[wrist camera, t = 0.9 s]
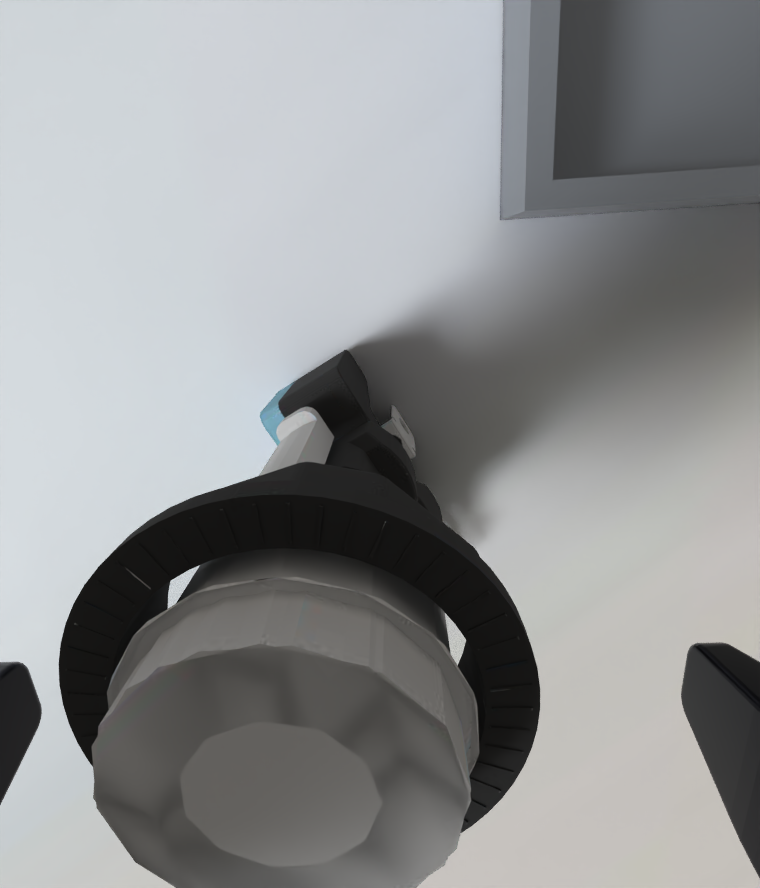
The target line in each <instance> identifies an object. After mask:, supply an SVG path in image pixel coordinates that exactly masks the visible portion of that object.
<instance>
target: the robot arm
mask: <svg viewBox="0 0 760 888" xmlns="http://www.w3.org/2000/svg"><path fill="white" fill-rule="evenodd" d="M681 698H682V705H683V708H684V712H685V714H686V717H687V719H688V721H689V724H690V726H691V728H692V731H693V733H694V735H695V738H696V740H697V742H698V745H699V747H700V749H701V752H702V754H703V756H704V759H705V761H706V763H707V766H708V768H709V770H710V773H711V775H712V777H713V780H714V782H715V784H716V787H717V789H718V791H719V794H720V796H721V798H722V801H723V803H724V805H725V808H726V810H727V812H728V815H729V817H730V819H731V822H732V824H733V826H734V828H735V830H736V833H737V835H738V837H739V839H740V841H741V843H742V845H743V847H744V849H745V851H746V853H747V855H748V857H749V859H750V861H751V863H752V865H753V867H754V868H755V870H756V872H757V874H758V876H759V878H760V662H759V661H757V660H755V659H754V658H752V657H750V656H748V655H747V654H745V653H743V652H741V651H740V650H738V649H736V648H734V647H733V646H731V645H729V644H726V643H696V644H694V645H692V646H691V647H690V648H689V650H688V654H687V660H686V666H685V672H684V678H683V684H682V691H681ZM41 714H42V710H41V704H40V701H39V698H38V695H37V693H36V690H35V687H34V684H33V681H32V678H31V676H30V673H29V670H28V668H27V667H26V666H25V665H24V664H23V663H20V662H0V805H1V802H2V800H3V798H4V796H5V794H6V792H7V790H8V788H9V786H10V784H11V782H12V780H13V778H14V776H15V774H16V772H17V770H18V768H19V766H20V763H21V761H22V759H23V757H24V755H25V753H26V751H27V749H28V747H29V745H30V743H31V741H32V739H33V737H34V735H35V733H36V731H37V729H38V726H39V723H40V720H41Z"/></svg>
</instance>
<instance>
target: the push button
mask: <svg viewBox="0 0 760 888" xmlns="http://www.w3.org/2000/svg"><path fill="white" fill-rule="evenodd" d="M390 417H391V419H390V420H389V421H388V422H386V423H384V424H383V425H381V426H380V425H379V424H378V422H377V421H376V419H375V417H374V415H373V413H372V411H371V409H370V404H369V396H368V388H367V381H366V379H365V376H364V374H363V373H362V371H361V369H360V368H359V366H358V365H357V363H356V361H355V360H354V358H353V357H352V355H351V354H350V353H349V352H348V351H347V350H344V351H343V352H341V353H340V354H338V355H336V356H335V357H333V358H332V359H330V360H328V361H327V362H325V363H324V364H322V365H320V366H319V367H317V368H316V369H314V370H312V371H311V372H309V373H308V374H306V375H304V376H303V377H301V378H300V379H298V380H296V381H295V382H293V383H292V384H290V385H288V386H287V387H285V388H284V389H282V390H280V391H279V392H278V393H277V394H276V396H275V397H274V398H273V399H272V400H271V401H270V402H269V403H268V405H267V406H266V407H265V408H264V409H263V410H262V411H261V413H260V418H261V421H262V423H263V425H264V427H265V429H266V430H267V432H268V433H269V434H270V436H271V437H272V439H273V440H274V441H275V443H276V444H277V448H276V450H275V451H274V453H273V454H272V456H271V457H270V459H269V461H268V462H267V464H266V465H265V467H264V469H263V470H262V472H261V473H260V475H259V476H258V477H255V478H252V479H249V480H246V481H242V482H239V483H236V484H233V485H230V486H227V487H224V488H221V489H217V490H214V491H211V492H208V493H205V494H202V495H198V496H195V497H193V498H190V499H188V500H186V501H184V502H181V503H179V504H177V505H175V506H173V507H170V508H169V509H167V510H165V511H164V512H162V513H160V514H159V515H157V516H155V517H154V518H152V519H150V520H149V521H147V522H146V523H145V524H144V525H142V526H141V527H140V528H138V529H137V530H136V531H134V532H133V533H132V534H131V535H130V536H129V537H128V538H127V539H126V540H125V541H124V542H123V543H122V544H120V545H119V546H118V547H117V548H116V549H115V550H114V552H113V553H112V554H111V555H110V556H109V557H108V558H107V559H106V560H105V561H104V562H103V563H102V564H101V565H100V566H99V567H98V568H97V570H96V571H95V572H94V573H93V575H92V576H91V577H90V579H89V580H88V581H87V583H86V584H85V585H84V587H83V589H82V590H81V592H80V594H79V596H78V597H77V599H76V601H75V603H74V604H73V607H72V609H71V612H70V614H69V617H68V619H67V622H66V625H65V629H64V633H63V637H62V641H61V647H60V657H59V681H60V689H61V695H62V701H63V706H64V709H65V712H66V715H67V718H68V722H69V724H70V727H71V729H72V731H73V733H74V736H75V738H76V740H77V742H78V744H79V746H80V747H81V749H82V751H83V753H84V754H85V756H86V758H87V759H88V761H89V762H90V764H91V765H92V766H93V770H94V795H93V798H94V800H95V801H96V805H97V809H98V810H99V812H100V813H101V815H102V816H103V817H104V819H105V820H106V822H107V823H108V824H109V826H110V827H111V829H112V830H113V831H114V833H115V834H116V836H117V837H118V838H119V840H120V841H121V843H122V844H123V845H124V847H125V848H126V850H127V851H128V853H129V854H130V855H131V857H132V858H133V860H134V861H135V862H136V863H138V864H139V865H141V866H142V867H144V868H146V869H147V870H149V871H150V872H152V873H154V874H155V875H157V876H158V877H160V878H161V879H163V880H165V881H166V882H168V883H169V884H171V885H173V886H174V887H176V888H416V887H417V886H418V885H419V884H421V883H422V882H423V881H424V880H425V879H426V878H427V877H428V876H429V875H430V874H432V873H433V872H435V871H436V870H438V869H439V868H441V867H442V866H444V865H445V862H446V860H447V858H448V856H449V855H450V854H452V853H453V852H454V851H455V850H456V849H457V845H458V841H459V837H460V833H462V832H463V831H465V830H466V829H468V828H469V827H471V826H472V825H473V824H475V823H476V822H477V821H478V820H479V819H481V818H482V817H483V816H484V815H486V814H487V813H488V812H489V811H490V810H491V809H492V808H493V807H494V806H495V805H496V804H497V803H498V802H499V801H500V800H501V799H502V797H503V796H504V795H505V793H506V792H507V791H508V790H509V788H510V787H511V786H512V784H513V783H514V782H515V780H516V778H517V777H518V775H519V773H520V772H521V770H522V768H523V766H524V764H525V762H526V760H527V757H528V755H529V753H530V751H531V748H532V745H533V742H534V738H535V735H536V731H537V726H538V719H539V712H540V685H539V678H538V670H537V665H536V662H535V658H534V655H533V651H532V647H531V644H530V642H529V639H528V636H527V633H526V630H525V627H524V625H523V622H522V620H521V618H520V615H519V613H518V610H517V608H516V606H515V604H514V602H513V601H512V599H511V597H510V596H509V594H508V592H507V590H506V589H505V587H504V586H503V584H502V583H501V582H500V580H499V579H498V578H497V576H496V575H495V574H494V572H493V571H492V570H491V568H490V567H489V566H488V565H487V564H486V563H485V562H484V561H483V560H482V559H481V558H480V557H479V554H478V553H477V551H476V550H475V548H474V547H473V546H472V545H470V544H469V543H468V542H467V541H465V540H464V539H463V538H462V537H460V536H459V535H458V534H457V533H455V532H454V531H453V530H452V529H450V528H449V527H448V526H446V525H445V524H444V523H443V522H442V517H441V511H440V508H439V505H438V503H437V501H436V500H435V498H434V496H433V495H432V493H431V491H430V490H429V488H428V487H427V486H426V485H425V484H421V483H418V482H416V478H415V472H414V468H413V465H412V462H411V459H412V458H414V457H415V456H416V453H415V451H416V450H415V440H414V437H413V435H412V433H411V431H410V429H409V428H408V426H407V424H406V423H405V421H404V420H403V418H402V416H401V415H400V413H399V412H398V410H397V408H396V407H395V406H394V405H392V406H391V410H390ZM199 565H200V566H199ZM196 566H199V568H198V570H197V571H196V573H195V574H194V576H193V578H192V579H191V581H190V582H189V584H188V585H187V587H186V589H185V590H184V592H183V593H182V595H181V597H180V598H179V600H178V601H177V603H176V604H175V605H173V606H172V607H170V608H168V590H169V585H170V580H172V579H174V578H176V577H177V576H179V575H181V574H183V573H184V572H186V571H188V570H189V569H192V568H194V567H196ZM167 608H168V609H167ZM444 612H445V613H446V614H447V615H448V616H449V618H450V619H451V620H452V621H453V622H454V623H455V624H456V626H457V627H458V628H459V630H460V631H461V633H462V634H463V636H464V637H465V638H466V643H465V647H464V651H463V654H462V657H461V659H460V661H459V664H458V666H457V664H456V663H455V661H454V659H453V658H452V656H451V654H450V648H449V641H448V634H447V627H446V620H445V613H444Z"/></svg>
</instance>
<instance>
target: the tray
mask: <svg viewBox="0 0 760 888" xmlns="http://www.w3.org/2000/svg"><path fill="white" fill-rule="evenodd" d="M749 203H760V0H503V61H502V129H501V198H500V220H508V219H523V218H538V217H553V216H568V215H583V214H598V213H613V212H628V211H643V210H658V209H673V208H688V207H703V206H718V205H734V204H749Z"/></svg>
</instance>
